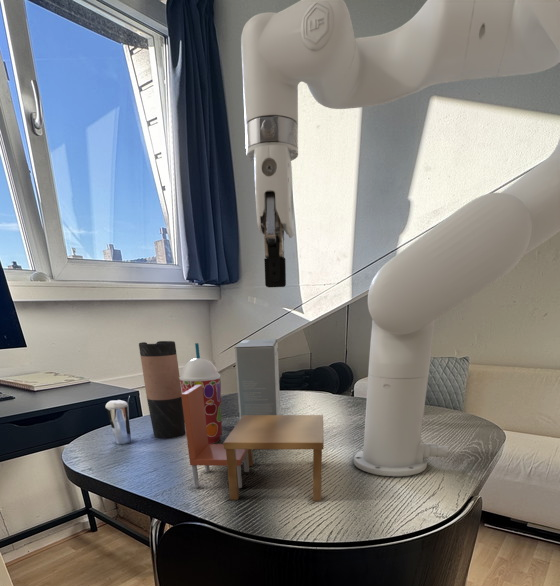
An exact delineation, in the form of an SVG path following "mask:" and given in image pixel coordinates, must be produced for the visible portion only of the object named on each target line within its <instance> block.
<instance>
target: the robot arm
mask: <svg viewBox="0 0 560 586" xmlns="http://www.w3.org/2000/svg"><path fill="white" fill-rule="evenodd" d="M240 49H241V50H240V51H241V52H240V53H241V70H242V72H241V73H242V89H243V90H242V91H243V110H244V111H243V112H244V114H243V115H244V133H245V149H246V150H245V151H246V152H245V154H246V156H245V157H246V159H247V160H248V161H251V162H252V163H253V164H254V165H253V168H254V189H255V190H254V192H255V193H254V195H255V211H256V213H255V214H256V222H257V230H258V231H259V232H260V234H261V235H262V236H263V238H264V239H263V241H264V257H265V258H264V260H263V261H264V279H265V280H264V283H265V285H264V286H265V287H266V288H285V287H286V286H287V272H286V271H287V269H286V267H287V265H286V263H287V261H286V257H285V234H286V235H287V236H288V237H289V239H292V238H293V237H294V233H295V231H294V193H293V192H294V191H293V167H292V161H294V160H296V159H297V158H298V156H299V93H298V92H299V89H298V88H299V84H300V83H305V84H306V86H307V87H308V90H309V92H310V93H311V95H312V97H313V98H314V100H315V101H316V102H317V103H318V104H320V105H321V106H323V107H325V108H328V109H333V110H349V109H360V108H369V107H376V106H377V107H378V106H382V105H386V104H389V103H392V102H395V101H397V100H400V99H402V98H405V97H408V96H410V95H414V94H416V93H418V92H420V91H422V90H424V89H426V88H429V87H430V86H434V85H438V84H444V83H454V82H461V81H471V80H479V79H489V78H490V79H491V78H503V77H512V76H523V75H531V74H537V73H542V72H544V71H547V70H550V69H552V68H554V67H556V66H557V65H558V64H560V0H426V1H425V2H424V4H423V5H422V7H420V9H418V11H417V12H416V13H415V14H414V16H413V17H411V18H410V19H409V20H408V21H406V22H405V23H404V24H402V25H400V26H399V27H397V28H395V29H393V30H391V31H388V32H384V33H382V34H377V35H370V36H362V37H356V35H355V32H354V26H353V23H352V18H351V14H350V10H349V9H348V6H347V3H346V2H345V0H299V1H296V2H295V3H293V4H292V5H289V6H288V7H286V8H284V9H282V10H280V11H278V12H270V11H269V12H261V13H257V14H255V15H252V17H250V19H248V20H247V21H246V23H245V24H244V26H243V29H242V32H241V36H240ZM559 232H560V138H559V139H558V142H557V144H556V147H555V148H554V150H553V152H552V153H551V154H550V155H549V156H548V157H547V158H546V159H545V160H543V161H542V162H540V163H539V164H538V165H536V166H535V167H533V168H532V169H531V170H528V171H527V172H526V173H525V174H523V176H521V177H520V178H518V179H517V180H516V181H515V182H514V183H512V184H511V185H509V186H508V187H506V188H505V189H504V190H502V191H501V192H491V193H486V194H483V195H481V196H478V197H476V198H474V199H472V200H471V201H469V202H467V203H465V204H464V205H463V206H461V207H459V208H458V209H457V210H456V211H454V212H453V213H451V214H450V215H449V216H447V217H446V218H445V219H443V220H442V221H441V222H439V223H438V224H437V225H435V226H434V227H432V228H431V229H430V230H428V231H427V232H426V233H425V234H423V235H422V236H421V237H419V238H418V239H416V240H415V241H414V242H412V243H411V244H410V245H408V246H407V247H405V248H404V249H403V250H401V251H400V252H399V253H397V254H396V255H394V256H393V257H392V258H391V259H389V260H388V261H387V262H385V263H384V264H383V265H382V266H381V267H380V269H379V270H378V271H377V272H376V274H375V275H374V277H373V278H372V280H371V282H370V284H369V289H368V293H367V308H368V312H369V315H370V317H371V319H372V320H371V332H370V343H369V344H370V345H369V356H368V357H369V358H368V371H367V387H366V403H365V418H364V420H365V421H364V433H363V434H364V435H363V449H362V450H360V451H358V452H356V454H354V456H353V464H354V466H355V467H356V468H358V469H359V470H361V471H363V472H365V473H368V474H372V475H377V476H383V477H408V476H414V475H417V474H418V475H419V474H421V473H422V472H424V471H426V469H427V466H428V460H429V458H430V457H435V458H448V456H449V451H450V450H449V449H450V448H449V446H448V445H438V443H437V442H429V443H426V442H424V441H423V439H422V431H423V423H424V415H425V406H426V399H427V391H428V381H429V376H430V375H429V374H430V368H431V360H432V350H433V341H434V332H435V324H436V320H437V319H439V318H440V317H442V316H444V315H445V314H447V313H448V312H450V311H452V310H454V309H455V308H457V307H458V306H460V305H462V304H463V303H464V302H467V300H469V299H471V298H472V297H474V296H476V295H477V294H479V293H480V292H482V291H484V290H485V289H487V288H488V287H490V286H492V285H493V284H494V283H496V282H497V281H499V280H500V279H502V278H504V277H506V275H508V274H509V273H510V272H511V271H512V270H513V269H514V268H515V267H516V266H517V265H518V264H519V262H520V261H521V260H522V258H523V256H525V255H527V254H528V253H530V252H531V251H533V250H535V249H536V248H538V247H539V246H541V245H542V244H544V243H545V242H546V241H548V240H550V238H552V237H554V236H555V235H556V234H558V233H559ZM427 459H428V460H427Z"/></svg>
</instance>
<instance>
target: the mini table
mask: <svg viewBox="0 0 560 586" xmlns="http://www.w3.org/2000/svg"><path fill="white" fill-rule="evenodd" d="M233 427H234V428H232V430H231V432H230V433H229V434H228V435H227V437H226V438H225V440H224V441H223V444H224V449H226V457H227V466H226V467H227V480H228V490H229V491H228V492H229V501H231V500H232V501H238V500H239V498H240V488H239V487H238V473H237V460H236V449H249V450H248V461H249V467H253V465H254V453H253V452H254V451H253V450H312V501H313V502H321V501H322V475H323V473H322V471H323V469H322V468H323V450H324V448H325V447H324V446H325V445H324V440H325V439H324V415H323V414H280V415H243V416H242V418H241V419H240V418H239V421H237V422H236V425H235V426H233Z"/></svg>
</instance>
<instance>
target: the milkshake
mask: <svg viewBox="0 0 560 586" xmlns="http://www.w3.org/2000/svg"><path fill="white" fill-rule="evenodd" d="M130 397H131V396H130V395H128V399H127V401H125V400H121V399H117V400H114V399H113V400H109V401H108V402H106V404H105V411H106V414H107V416H108V417H107V418H108V420H109V423H110V426H111V430H112V433H113V437H114V441H115V444H117V445H126V444H130V443H132V434H131V425H130V424H131V423H130V411H129V401H130Z"/></svg>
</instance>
